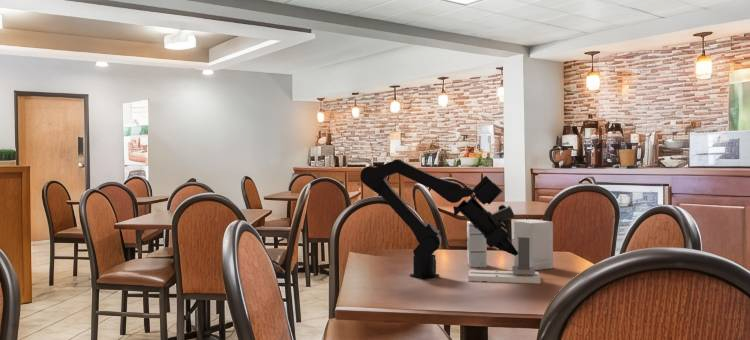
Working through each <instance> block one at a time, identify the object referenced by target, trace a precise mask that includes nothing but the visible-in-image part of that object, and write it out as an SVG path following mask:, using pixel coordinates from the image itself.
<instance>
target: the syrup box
mask: <svg viewBox="0 0 750 340" xmlns="http://www.w3.org/2000/svg"><path fill="white" fill-rule="evenodd" d="M466 243H467V244H466V245H467V246H466V248H467V250H466V251H467V252H466V253H467V256H466V261H467V266H468V267H469V268H476V267H480V268H487V267H488V263H487V262H488V260H487V259H488V257H487V256H488V254H487V251H488V250H487V249H488V248H487V247H488V245H487V244H486V238H485V237H484V235H483V234H482V233H481V232H480V231H479V230H478V229H477V228H475V227H474V225H473V224H472V223H471V222H470V221H469V220H467V221H466Z"/></svg>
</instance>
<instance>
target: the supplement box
mask: <svg viewBox="0 0 750 340" xmlns="http://www.w3.org/2000/svg"><path fill="white" fill-rule="evenodd" d="M518 235H528V236H529V238H530V266H534V269H535V271H538V270H549V269H553V268H554V222H553V221H549V220H541V219H522V220H521V219H520V220H519V219H517V220H513V246H514V247H515V249H516V250H517V252H518ZM513 266H518V254H517V255H516V256H515V255H513Z"/></svg>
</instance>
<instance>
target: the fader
mask: <svg viewBox="0 0 750 340" xmlns="http://www.w3.org/2000/svg"><path fill="white" fill-rule="evenodd" d="M512 271H513V274H525V275H535V272H536V270H535V269H534V266H530V238H529V236H528V235H518V266H514V265H512Z"/></svg>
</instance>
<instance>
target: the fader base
mask: <svg viewBox="0 0 750 340" xmlns="http://www.w3.org/2000/svg"><path fill="white" fill-rule="evenodd" d="M467 275H468V276H467V281H468V282H482V281H487V282H488V283H512V284H513V283H515V284H516V283H517V284H541V283H542V282H541V280H542V279H541V276H540V273H539V271H535V275H525V274H513V271H511V270H497V269H495V270H487V269H486V270H484V269H483V270H481V269H468V274H467ZM487 282H486V283H487Z"/></svg>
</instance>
